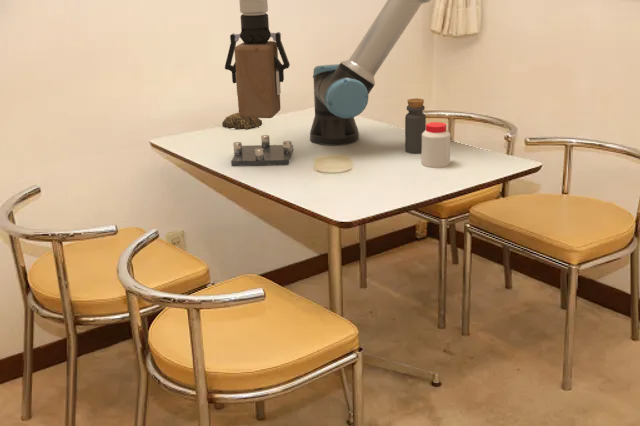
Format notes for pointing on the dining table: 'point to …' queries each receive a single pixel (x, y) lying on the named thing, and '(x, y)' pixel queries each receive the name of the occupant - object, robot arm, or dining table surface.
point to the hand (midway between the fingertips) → (259, 94)
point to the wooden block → (257, 80)
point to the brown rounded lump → (241, 122)
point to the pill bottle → (435, 145)
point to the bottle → (414, 125)
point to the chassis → (262, 153)
